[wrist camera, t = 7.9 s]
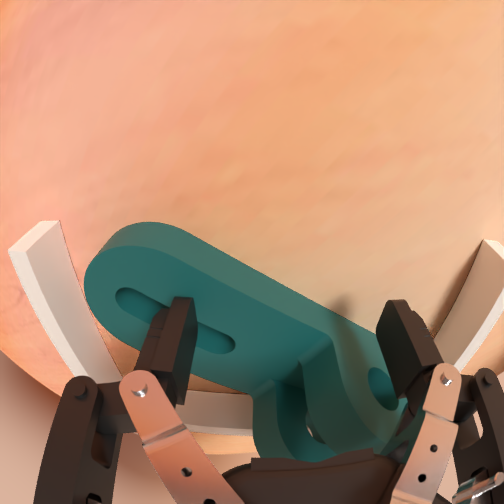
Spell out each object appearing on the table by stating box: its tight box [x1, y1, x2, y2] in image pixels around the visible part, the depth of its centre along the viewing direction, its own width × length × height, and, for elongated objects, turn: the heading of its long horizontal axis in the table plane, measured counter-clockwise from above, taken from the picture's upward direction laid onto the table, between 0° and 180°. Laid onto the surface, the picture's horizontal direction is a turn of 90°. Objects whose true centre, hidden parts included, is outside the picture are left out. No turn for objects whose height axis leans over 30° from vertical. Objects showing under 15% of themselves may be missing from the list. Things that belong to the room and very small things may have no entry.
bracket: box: [84, 222, 408, 462], centre depth 12 cm, size 18×7×8 cm, turn 57°
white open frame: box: [8, 221, 504, 436], centre depth 15 cm, size 26×16×3 cm, turn 88°
